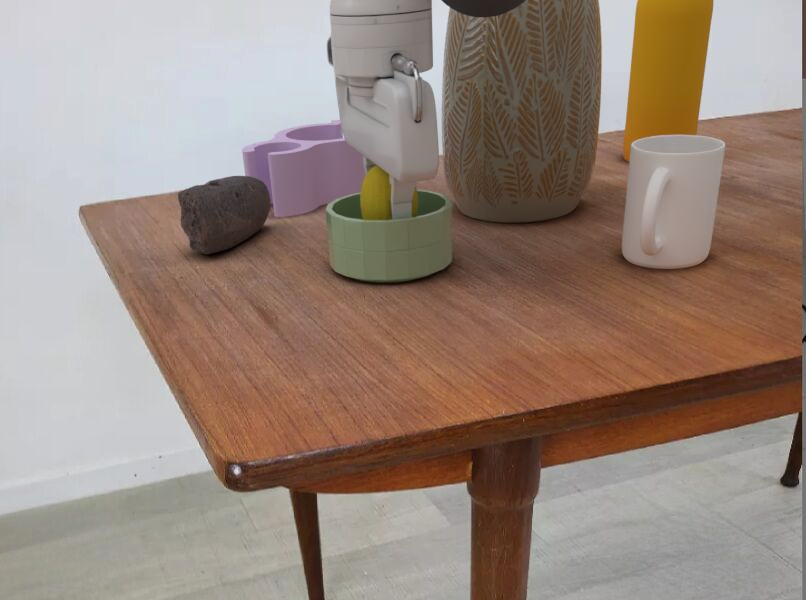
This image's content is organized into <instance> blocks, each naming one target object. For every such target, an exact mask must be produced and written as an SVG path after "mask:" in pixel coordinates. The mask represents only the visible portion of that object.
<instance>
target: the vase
mask: <svg viewBox="0 0 806 600" xmlns="http://www.w3.org/2000/svg"><path fill="white" fill-rule="evenodd" d="M448 10H449V11H448V16H447V23H446V31H445V38H444V48H443V66H442V83H441V85H442V86H441V149H442V167H443V174H444V179H445V183H446V185H447V189H448V190H449V193H450V194H451V198H452V199H453V201H454V203H455V205H456V207H457V209H458V211H459V212H460V213H462V214H463V216H464V215H465V216H466V217H469V218H472V219H475V220H479V221H482V222H483V221H485V222H490V223H491V222H492V223H500V224H501V223H504V224H525V223H536V222H544V221H549V220H554V219H558V218H561V217H565V216H566V215H568V214H571V213H572V212H573V211H574V210H575V209H577V207H578V205H579V203H580V201H581V199H582V198H583V196H584V195H585V193H586V191H587V189H588V187H589V184H590V182H591V180H592V177H593V173H594V170H595V165H596V158H597V149H598V141H599V130H600V129H599V128H600V115H601V102H602V101H601V100H602V71H603V70H602V69H603V66H602V63H603V59H602V58H603V45H602V44H603V43H602V41H603V40H602V39H603V38H602V23H601V21H602V20H601V9H600V0H526V1H524V2H523V3H522V4H521V5H519V6H518V7H516V8H515V9H513V10H511V11H509V12H507V13H504V14H501V15H498V16H493V17H483V18H482V17H472V16H468V15H464V14H462V13H459V12H457V11H455V10H453V9H452V8H450V7H449V9H448Z"/></svg>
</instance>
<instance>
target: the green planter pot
mask: <svg viewBox="0 0 806 600" xmlns="http://www.w3.org/2000/svg"><path fill="white" fill-rule="evenodd" d="M416 189H417V188H416ZM417 195H418V211H417V216H416V217H411V218H405V219H392V220H363V217H362V212H361V205H360V196H361V192H360V193H354V194H350V195H347V196H343V197H340V198H337V199H336V200H334V201H332V202H331V203H329V204H326V207H325V219H326V220H325V221H326V231H327V232H326V233H327V245H328V255H329V256H328V257H329V266H330V267H331V269H332V270H333V271H334V272H335V273H336V274H339V275H341V276H344V277H347V278H351V279H354V280H358V281H363V282H367V283H368V282H370V283H400V282H401V283H402V282H407V281H413V280H418V279H421V278H425V277H428V276H431V275H433V274H434V273H437V272H439V271H443V270H445V268H447V267H448V266H449V265H450V264H451V263H452V262H453V200H452V198H450V197H449V196H447V195H446V194H444V193H441V192H437V191H433V190H428V189H417Z"/></svg>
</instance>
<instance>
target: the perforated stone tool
mask: <svg viewBox="0 0 806 600" xmlns="http://www.w3.org/2000/svg"><path fill="white" fill-rule="evenodd" d="M177 197H178V198H177V199H178V203H179V206H180V219H179V220H180V227H181V229H182V231H183V232H184V234H185V235H186V236H187V238H188V240H189V247H190V249H191V250H193V251H196V252H197V253H198V254H205V255H211V254H212V255H213V254H215V253H219V252H224V251H226V250H230V249H232V248H234V247H235V246H237V245H239V244H240V243H243V242H244V241H246V240H248V239H249V238H251V237H252V236H254V235H255V234H257V232H259V231H260V230H261V229H262V227H263V226H264V225H265V223H266V222H267V220H268V217H269V214H270V211H271V205H272V204H271V203H270V194H269V191H268V189H267V186H266V185H265V184H264V182H262V181H261V180H259V179H257V178H254V177H249V176H245V175H230V176H225V177H221V178H215V179H212V180H208V181H207V182H206V183H203V184H196V185H194V186H191V187H190V186H189V187H188V188H185V189H183V190H180V191H178V193H177Z"/></svg>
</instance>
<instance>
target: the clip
mask: <svg viewBox="0 0 806 600" xmlns="http://www.w3.org/2000/svg"><path fill="white" fill-rule="evenodd" d="M273 136H274V137H273V138H272V139H268V140H265V141H259V142H255V143H251V144H248V145H246V146H244V147H242V149H241V153H242V161H243V168H244V176H249V177H254V178H257V179H259V180H261V181H262V182H264V184H265V185H266V186H267V189H268V191H269V194H270V203H271V204H270V205H272V207H273V216H274V217H275V218H284V217H295V216H300V215H305V214H307V213H310V212H313V211H315V210H316V209H318V208H319V207H321V206H323V205H328V204H329V203H331V202H332V201H334V200H336V199H337V198H340V197H343V196H347V195H350V194H354V193H360V192H361V188H362V184H363V180H364V178H365V176H366V173H365V169H364V165H363V155H362V154H361V153H359V152H358V151H356V150H355V149H354V148H352V147H351V146H350V145H348V144H347V143H346V141H345V138H344V135H343V132H342V128H341V122H340V119H333V120H331V121H330V122H323V123H312V124H303V125H299V126H293V127H289V128H284V129H283V130H280V131H278V132H276V133H275V134H274V135H273Z"/></svg>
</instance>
